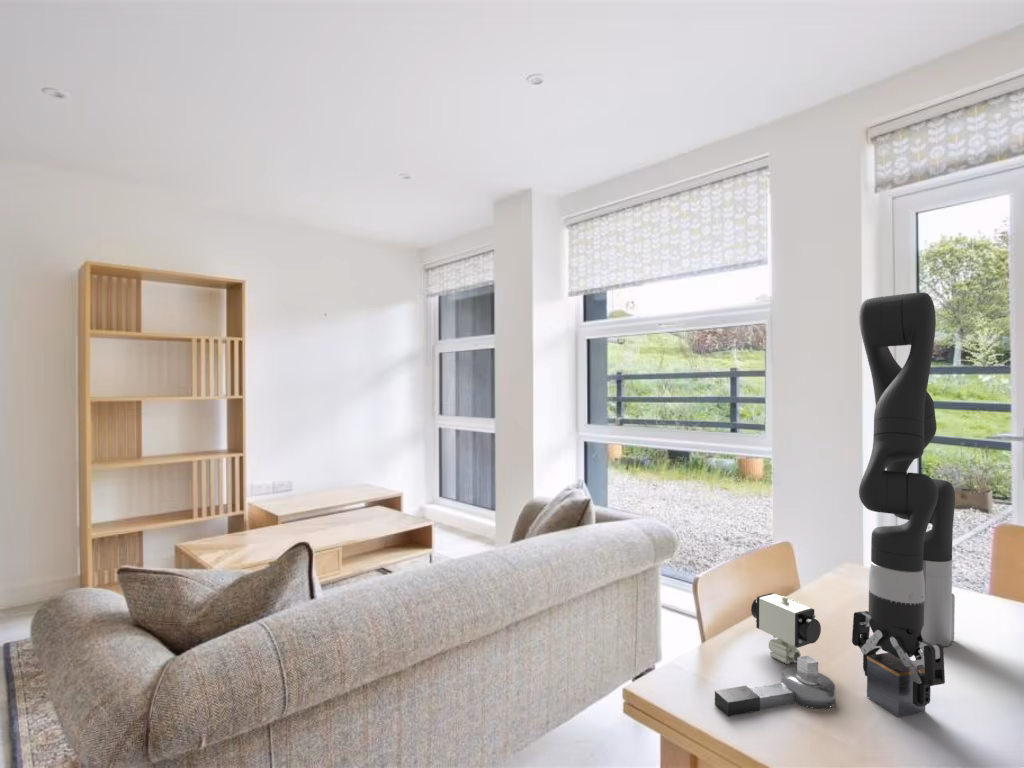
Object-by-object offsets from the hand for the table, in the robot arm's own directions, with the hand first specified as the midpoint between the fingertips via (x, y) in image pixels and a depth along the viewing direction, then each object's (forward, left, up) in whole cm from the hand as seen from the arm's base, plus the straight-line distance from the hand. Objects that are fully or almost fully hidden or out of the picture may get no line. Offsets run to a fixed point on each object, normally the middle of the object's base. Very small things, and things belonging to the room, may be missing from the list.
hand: (894, 690), depth 90 cm
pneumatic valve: (+6, -17, -3) cm, 18 cm away
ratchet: (+18, -6, -2) cm, 19 cm away
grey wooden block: (0, 0, -2) cm, 2 cm away
